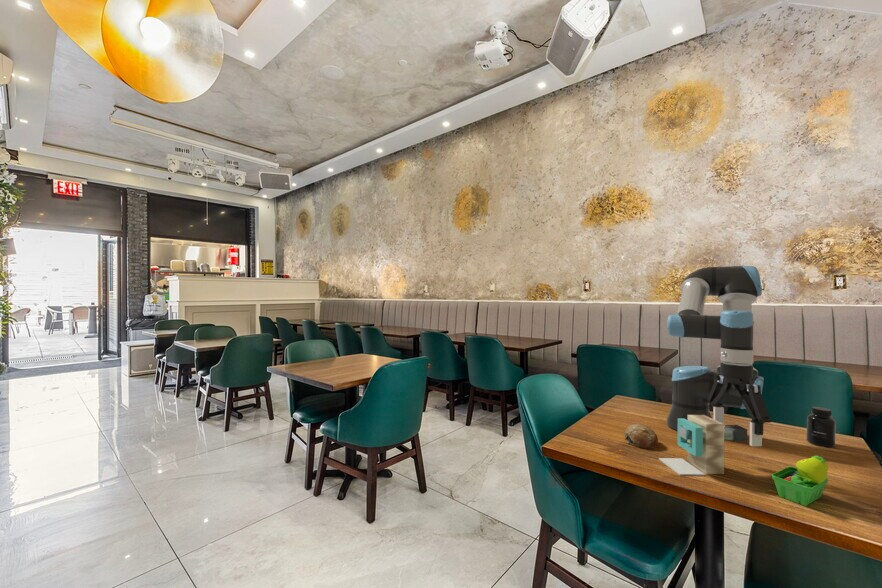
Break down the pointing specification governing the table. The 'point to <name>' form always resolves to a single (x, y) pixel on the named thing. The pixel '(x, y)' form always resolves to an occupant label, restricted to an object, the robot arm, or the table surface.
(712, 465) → the light wood tall block
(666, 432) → the table surface
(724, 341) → the robot arm
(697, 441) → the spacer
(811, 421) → the supplement bottle
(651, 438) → the brown rounded lump
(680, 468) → the mat
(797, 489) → the fruit basket
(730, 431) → the shaft
